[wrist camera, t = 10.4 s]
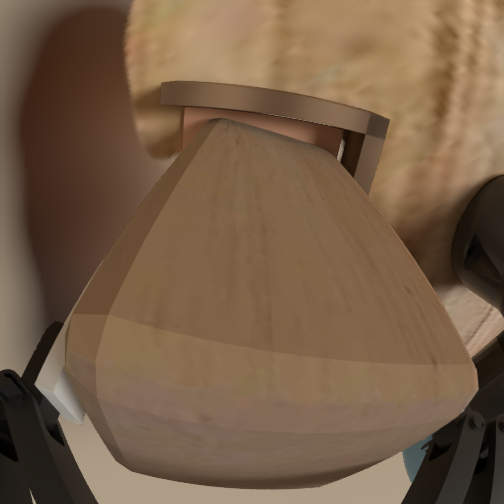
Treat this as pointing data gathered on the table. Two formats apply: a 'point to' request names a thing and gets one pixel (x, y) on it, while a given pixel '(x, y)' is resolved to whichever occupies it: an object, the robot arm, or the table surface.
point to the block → (262, 324)
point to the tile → (264, 126)
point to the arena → (296, 106)
